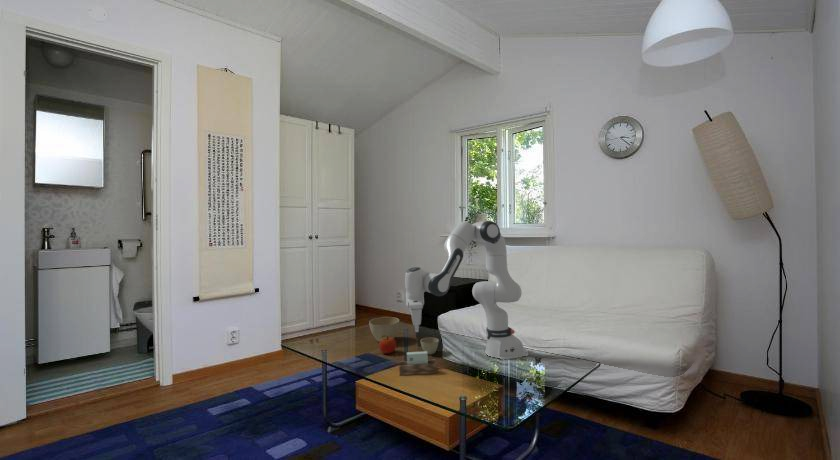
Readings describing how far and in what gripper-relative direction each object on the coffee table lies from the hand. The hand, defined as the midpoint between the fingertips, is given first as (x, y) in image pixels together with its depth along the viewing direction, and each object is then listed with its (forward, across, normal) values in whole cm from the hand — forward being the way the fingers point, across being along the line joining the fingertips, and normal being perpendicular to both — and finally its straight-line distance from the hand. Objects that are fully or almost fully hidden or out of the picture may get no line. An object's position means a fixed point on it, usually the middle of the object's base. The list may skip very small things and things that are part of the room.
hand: (416, 328), depth 217 cm
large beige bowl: (+22, -50, -17) cm, 57 cm away
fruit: (+21, -28, -15) cm, 39 cm away
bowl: (+21, -24, +8) cm, 33 cm away
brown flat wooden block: (+21, 0, 0) cm, 21 cm away
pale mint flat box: (+20, 0, 0) cm, 20 cm away
